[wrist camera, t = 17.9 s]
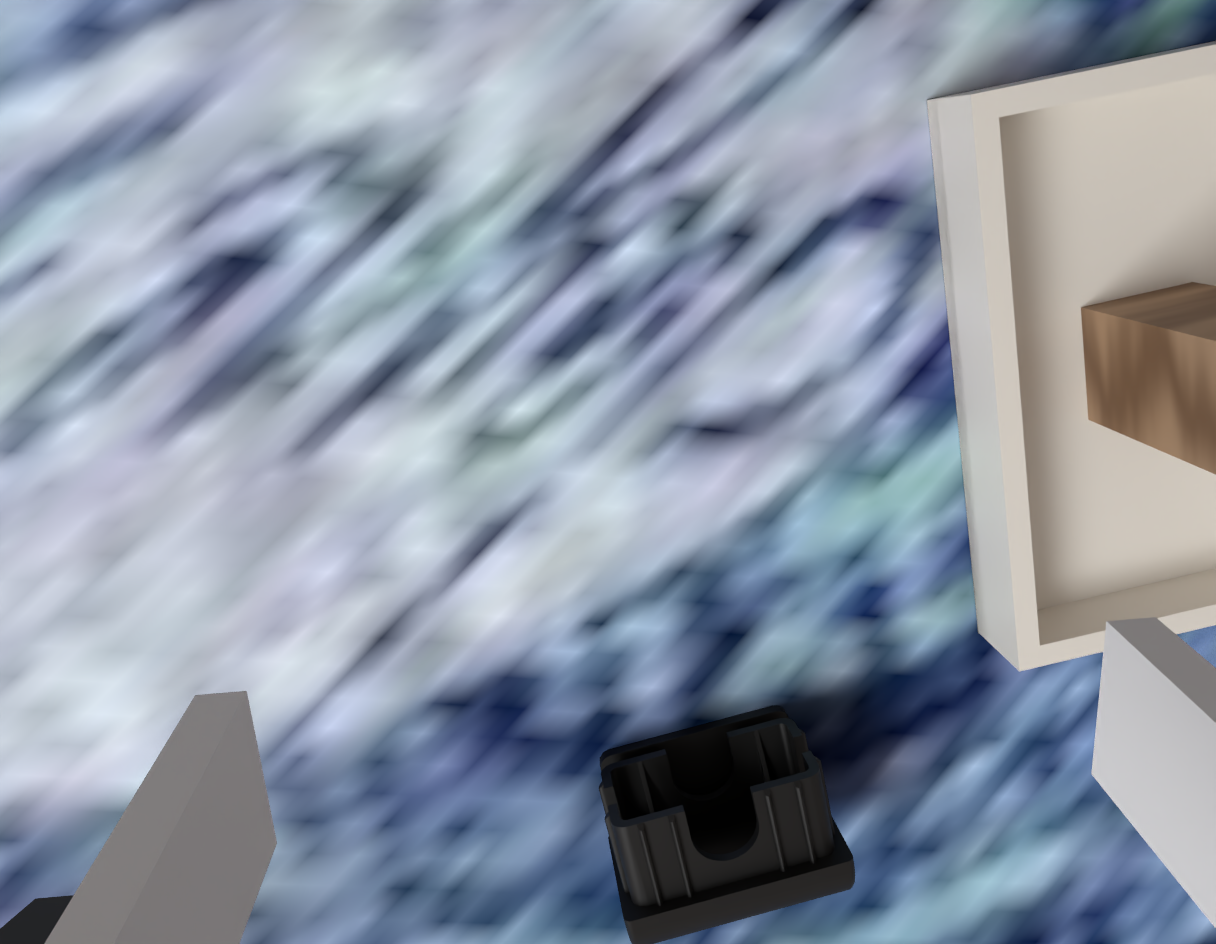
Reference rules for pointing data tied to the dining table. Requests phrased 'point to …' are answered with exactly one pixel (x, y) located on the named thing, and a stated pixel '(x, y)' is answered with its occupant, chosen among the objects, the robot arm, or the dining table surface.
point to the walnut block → (1156, 369)
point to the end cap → (719, 825)
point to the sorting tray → (1073, 342)
